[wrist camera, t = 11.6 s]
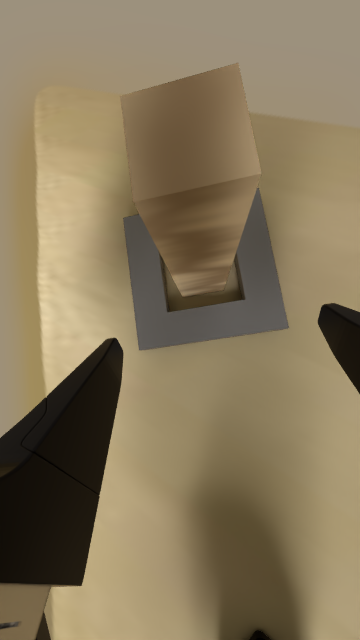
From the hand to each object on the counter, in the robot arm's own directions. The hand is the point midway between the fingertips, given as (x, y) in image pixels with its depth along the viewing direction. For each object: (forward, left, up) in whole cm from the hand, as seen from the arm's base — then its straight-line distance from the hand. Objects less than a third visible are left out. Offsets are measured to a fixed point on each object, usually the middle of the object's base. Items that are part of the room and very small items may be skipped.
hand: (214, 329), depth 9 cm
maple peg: (+4, -4, -11) cm, 12 cm away
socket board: (+4, -4, -11) cm, 12 cm away
